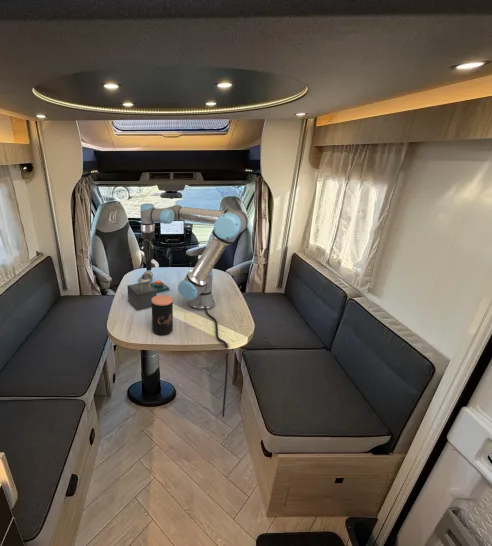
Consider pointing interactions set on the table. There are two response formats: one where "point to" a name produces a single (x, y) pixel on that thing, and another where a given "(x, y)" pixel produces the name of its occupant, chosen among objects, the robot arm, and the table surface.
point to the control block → (160, 287)
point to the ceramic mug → (146, 276)
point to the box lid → (142, 287)
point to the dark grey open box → (140, 300)
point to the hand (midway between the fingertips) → (148, 270)
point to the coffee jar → (162, 314)
